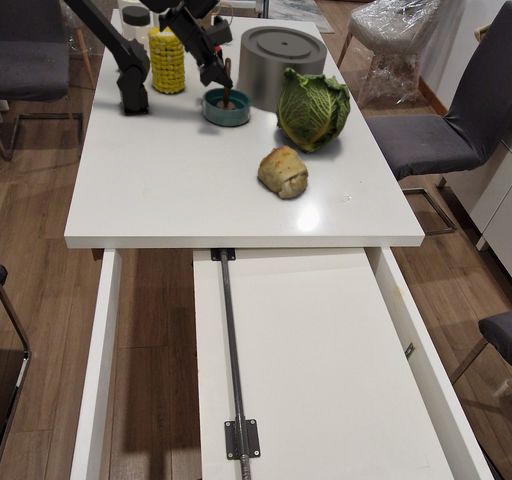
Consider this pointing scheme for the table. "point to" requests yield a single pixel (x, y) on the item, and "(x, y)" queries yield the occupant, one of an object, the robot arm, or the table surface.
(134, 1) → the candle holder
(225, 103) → the rounded top peg stand
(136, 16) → the jar
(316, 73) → the container
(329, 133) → the vegetable
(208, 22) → the mug
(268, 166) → the pastry
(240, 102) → the bowl
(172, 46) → the food
